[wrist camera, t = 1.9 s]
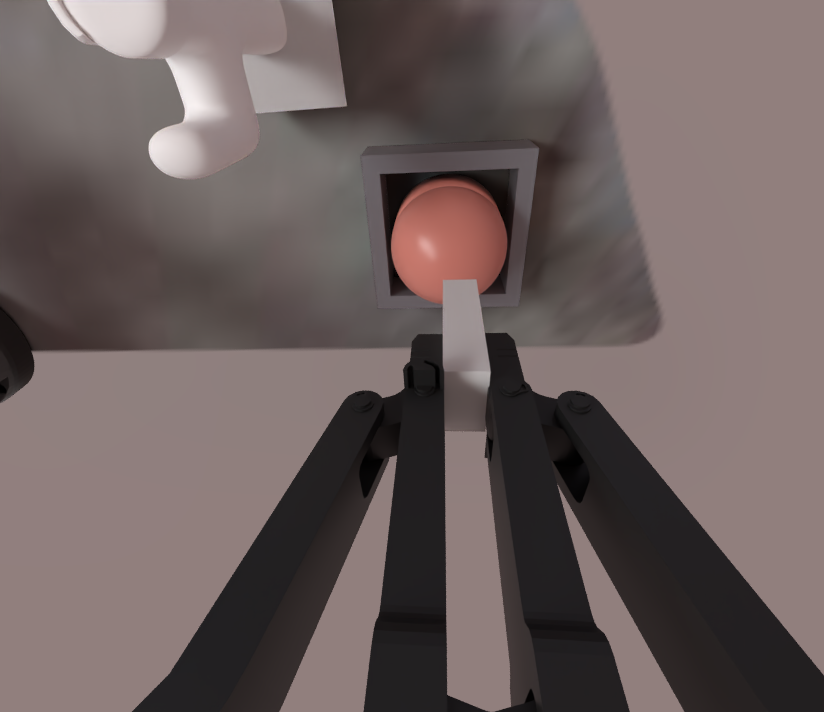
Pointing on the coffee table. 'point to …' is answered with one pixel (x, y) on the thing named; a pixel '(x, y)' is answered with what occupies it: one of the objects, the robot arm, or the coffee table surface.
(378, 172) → the housing
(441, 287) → the pink ball
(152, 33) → the white faucet
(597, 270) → the coffee table surface
